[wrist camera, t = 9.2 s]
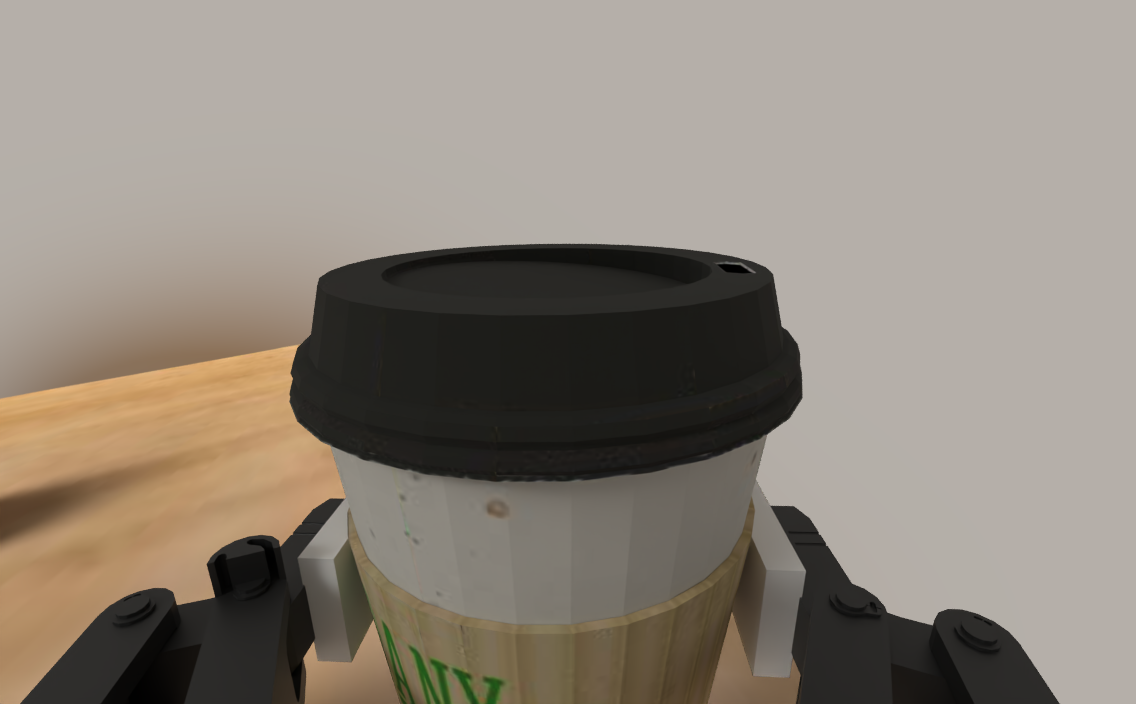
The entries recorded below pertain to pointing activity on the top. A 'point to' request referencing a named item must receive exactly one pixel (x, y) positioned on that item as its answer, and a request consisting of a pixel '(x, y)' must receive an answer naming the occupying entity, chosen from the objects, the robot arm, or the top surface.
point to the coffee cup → (548, 461)
